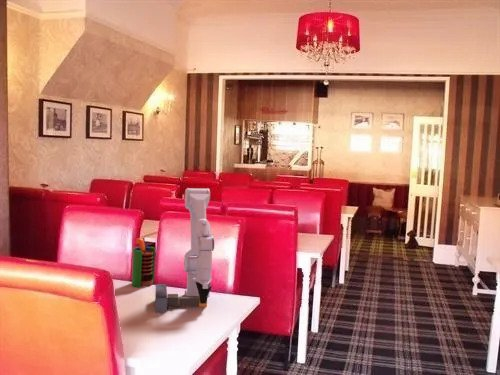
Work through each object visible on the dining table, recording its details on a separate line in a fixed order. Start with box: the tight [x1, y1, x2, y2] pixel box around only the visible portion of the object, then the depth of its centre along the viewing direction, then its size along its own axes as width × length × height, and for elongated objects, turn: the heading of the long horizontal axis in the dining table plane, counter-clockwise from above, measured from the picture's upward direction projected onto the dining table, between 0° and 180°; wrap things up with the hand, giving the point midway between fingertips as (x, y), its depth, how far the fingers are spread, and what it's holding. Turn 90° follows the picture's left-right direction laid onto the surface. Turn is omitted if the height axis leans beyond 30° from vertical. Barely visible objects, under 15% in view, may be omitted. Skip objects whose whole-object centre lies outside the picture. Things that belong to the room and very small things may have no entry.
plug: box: [167, 293, 208, 309], centre depth 185 cm, size 16×4×4 cm, turn 101°
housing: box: [154, 283, 168, 313], centre depth 183 cm, size 4×14×6 cm, turn 11°
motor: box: [131, 237, 156, 288], centre depth 210 cm, size 10×9×20 cm
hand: (202, 301), depth 186 cm, fingers closed on plug, 3 cm apart
